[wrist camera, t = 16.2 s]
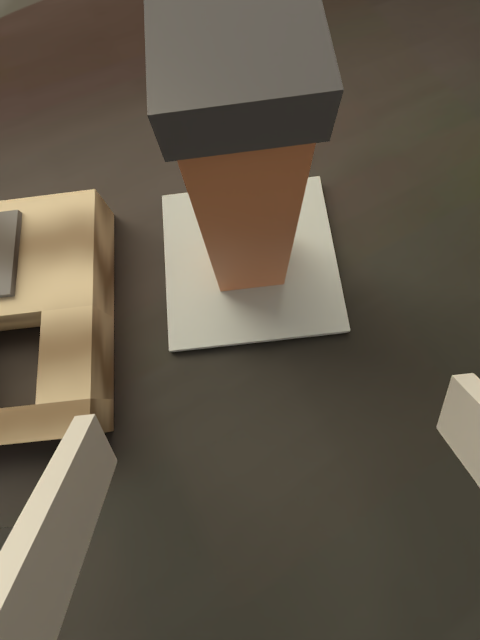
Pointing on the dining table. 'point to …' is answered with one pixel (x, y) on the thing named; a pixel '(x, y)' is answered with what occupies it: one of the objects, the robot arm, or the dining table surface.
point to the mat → (252, 303)
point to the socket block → (60, 308)
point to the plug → (242, 120)
